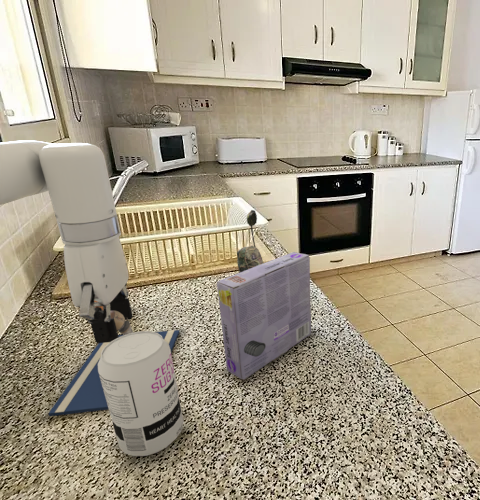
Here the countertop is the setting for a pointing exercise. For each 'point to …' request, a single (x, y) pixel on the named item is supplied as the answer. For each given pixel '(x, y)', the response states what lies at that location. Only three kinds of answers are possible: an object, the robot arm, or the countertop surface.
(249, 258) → the plant with pod
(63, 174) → the robot arm
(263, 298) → the cake pan box
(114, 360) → the supplement can
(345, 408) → the countertop surface
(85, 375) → the towel
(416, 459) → the countertop surface
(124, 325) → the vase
